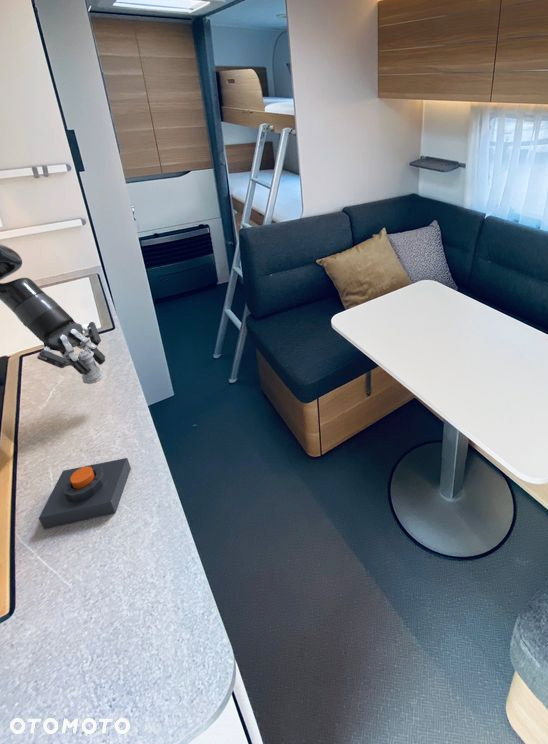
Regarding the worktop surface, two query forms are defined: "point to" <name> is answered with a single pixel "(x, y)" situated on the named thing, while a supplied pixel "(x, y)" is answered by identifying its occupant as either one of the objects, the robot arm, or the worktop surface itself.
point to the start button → (82, 477)
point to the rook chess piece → (95, 372)
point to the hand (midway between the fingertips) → (95, 367)
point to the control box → (86, 495)
